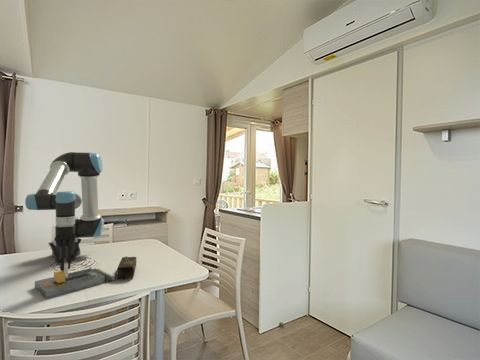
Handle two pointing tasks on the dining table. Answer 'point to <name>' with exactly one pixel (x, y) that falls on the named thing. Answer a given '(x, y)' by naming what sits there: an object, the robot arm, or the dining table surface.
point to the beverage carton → (126, 268)
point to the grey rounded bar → (107, 276)
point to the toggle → (59, 276)
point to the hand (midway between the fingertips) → (65, 276)
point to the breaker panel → (69, 283)
